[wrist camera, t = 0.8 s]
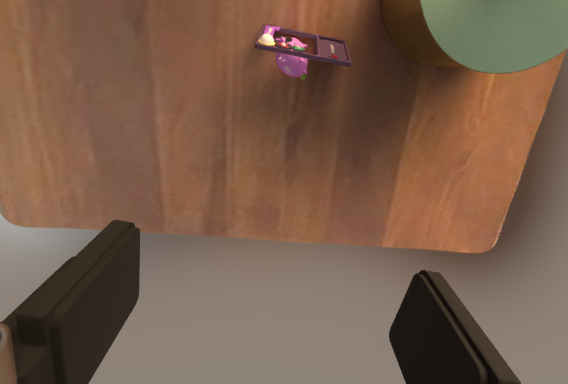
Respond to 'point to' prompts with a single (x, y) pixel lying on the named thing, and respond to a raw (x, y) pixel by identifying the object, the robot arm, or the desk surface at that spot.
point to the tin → (412, 33)
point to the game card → (301, 50)
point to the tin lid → (497, 32)
